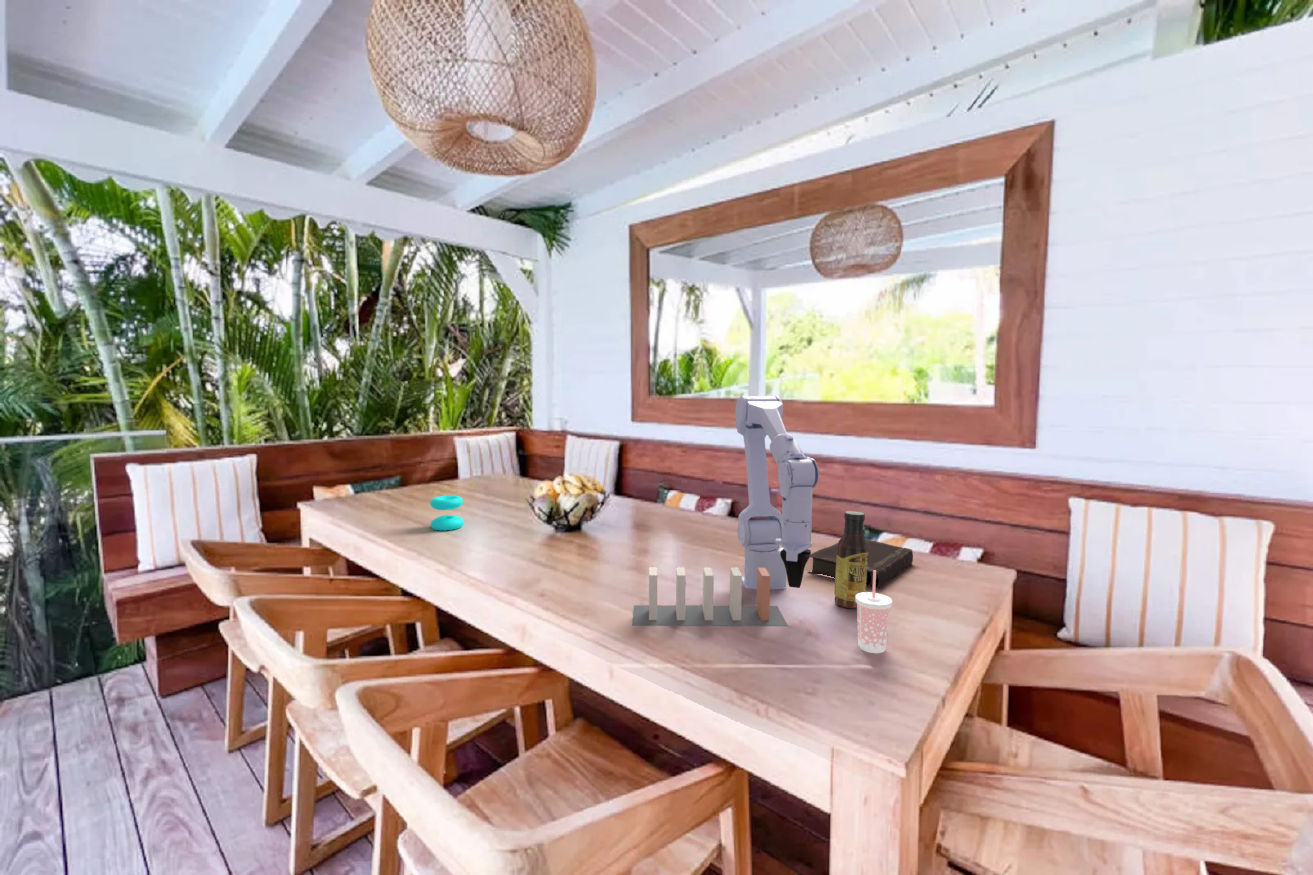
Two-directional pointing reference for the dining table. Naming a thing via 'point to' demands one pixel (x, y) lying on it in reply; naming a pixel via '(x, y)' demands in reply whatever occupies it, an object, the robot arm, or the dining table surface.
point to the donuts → (449, 520)
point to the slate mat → (696, 618)
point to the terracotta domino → (763, 593)
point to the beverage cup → (872, 619)
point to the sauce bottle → (851, 561)
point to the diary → (879, 558)
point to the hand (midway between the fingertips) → (794, 586)
